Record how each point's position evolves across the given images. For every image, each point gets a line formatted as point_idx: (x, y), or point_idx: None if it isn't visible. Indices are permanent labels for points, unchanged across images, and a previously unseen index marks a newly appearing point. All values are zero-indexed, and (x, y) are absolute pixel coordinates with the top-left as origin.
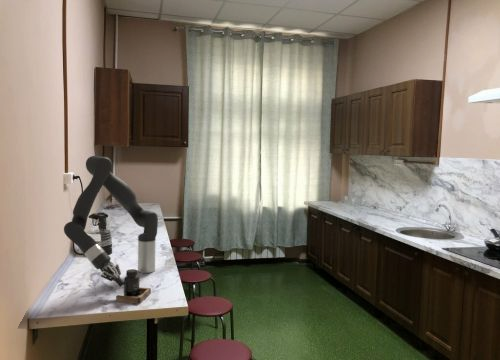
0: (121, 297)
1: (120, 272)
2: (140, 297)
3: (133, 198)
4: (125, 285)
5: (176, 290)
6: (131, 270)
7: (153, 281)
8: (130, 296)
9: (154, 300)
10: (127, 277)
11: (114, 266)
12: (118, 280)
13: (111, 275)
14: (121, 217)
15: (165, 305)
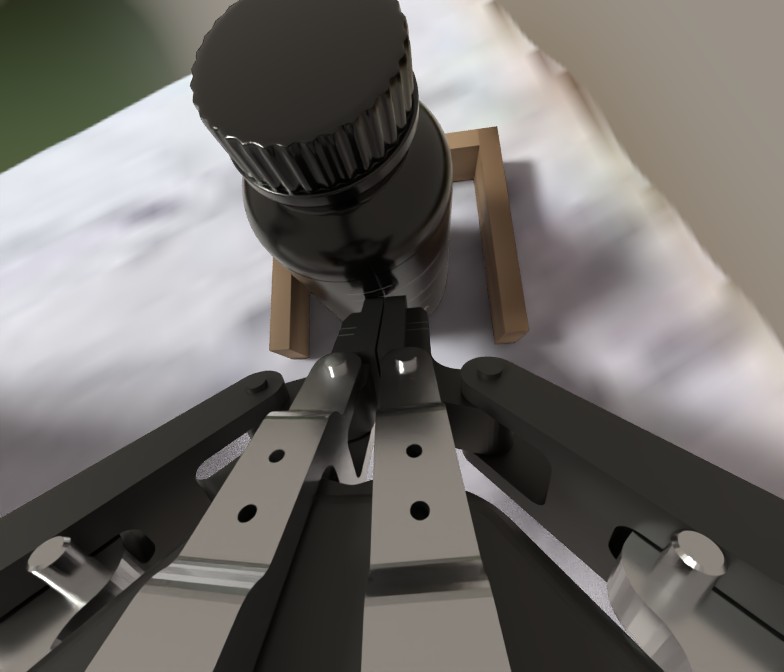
0: (518, 282)
1: (220, 393)
2: (484, 128)
3: None
4: (444, 244)
5: None
6: (283, 62)
7: (63, 283)
8: (494, 206)
9: None
10: (412, 168)
11: (41, 635)
12: (422, 340)
13: (560, 412)
14: None
15: (459, 23)
